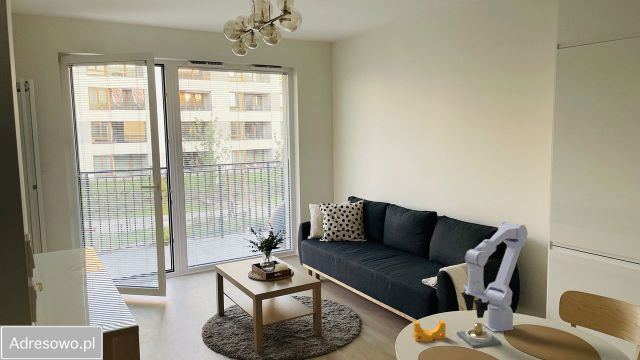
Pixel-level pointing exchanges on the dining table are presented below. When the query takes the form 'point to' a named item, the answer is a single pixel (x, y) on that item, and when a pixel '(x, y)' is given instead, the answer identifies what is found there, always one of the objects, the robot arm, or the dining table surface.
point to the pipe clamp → (429, 332)
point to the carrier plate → (478, 339)
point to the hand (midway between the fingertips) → (474, 313)
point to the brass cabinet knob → (478, 331)
